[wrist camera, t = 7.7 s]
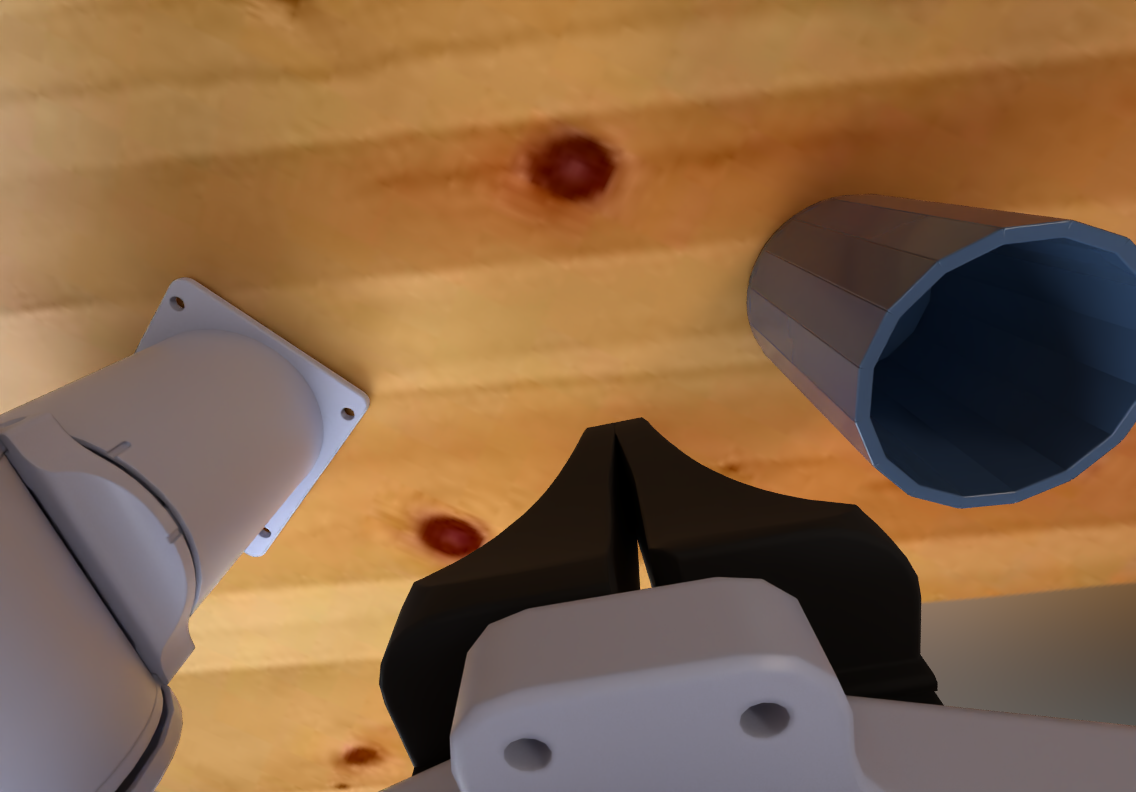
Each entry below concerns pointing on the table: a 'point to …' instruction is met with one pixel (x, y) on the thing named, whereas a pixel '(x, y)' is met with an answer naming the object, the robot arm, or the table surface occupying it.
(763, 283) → the blue cup
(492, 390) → the table surface
